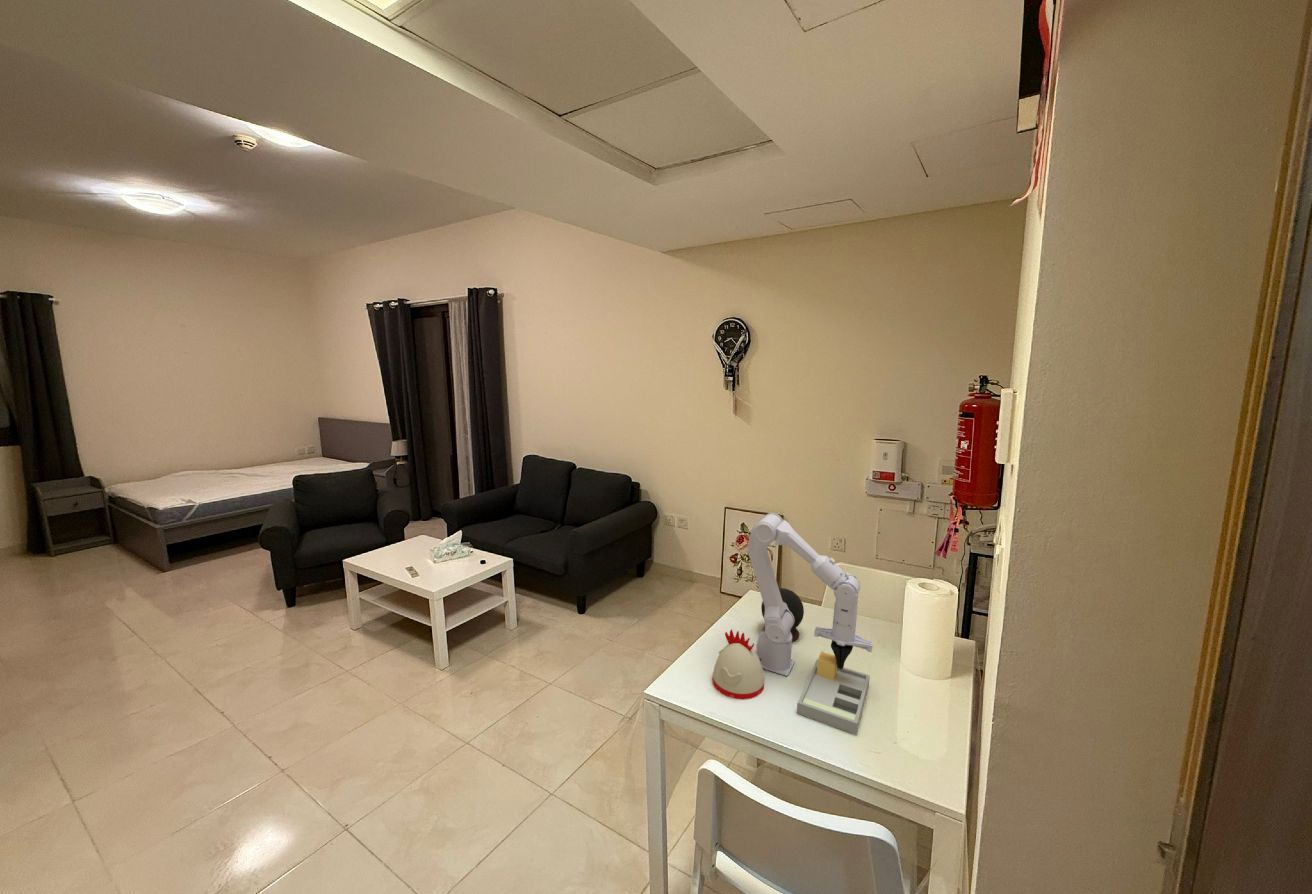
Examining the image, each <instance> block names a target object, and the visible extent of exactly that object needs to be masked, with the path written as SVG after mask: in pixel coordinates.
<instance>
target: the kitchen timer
mask: <svg viewBox="0 0 1312 894" xmlns="http://www.w3.org/2000/svg"><path fill="white" fill-rule="evenodd" d="M739 631H740V630H737V631H736V633H735V635H734V632H733V629H732V628H731V629H730V631H729V634H728V632H727V631H726V632H725V633H724V636H725V638H726V641H727V643H728V644H726V645H725V647H723V648H722V649H721V650H719V651H718V654H719V655H718V656H717V659H716V661H715V664H714V667H713V672H712V683H713V686H714V687H715V689H716V690H717V691H718V692H719V693H721V694H722V695H724V696H726V697H728V698H731V699H735V700H750V699H754V698H756V697H758V696H760V694H762V692H763V691H764V689H765V673H764V669H763V668H762V665H761V662H760V660H759V657H758V655H757V653H756V652H757V651H756V650H755V649H754V646H755V643H752V644H751V645H750V644H749V642H750V637H748V638H747V639H746V638H745V632H744V631H743V632H742V633H741V636H740V632H739ZM745 639H746V640H745Z"/></svg>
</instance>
